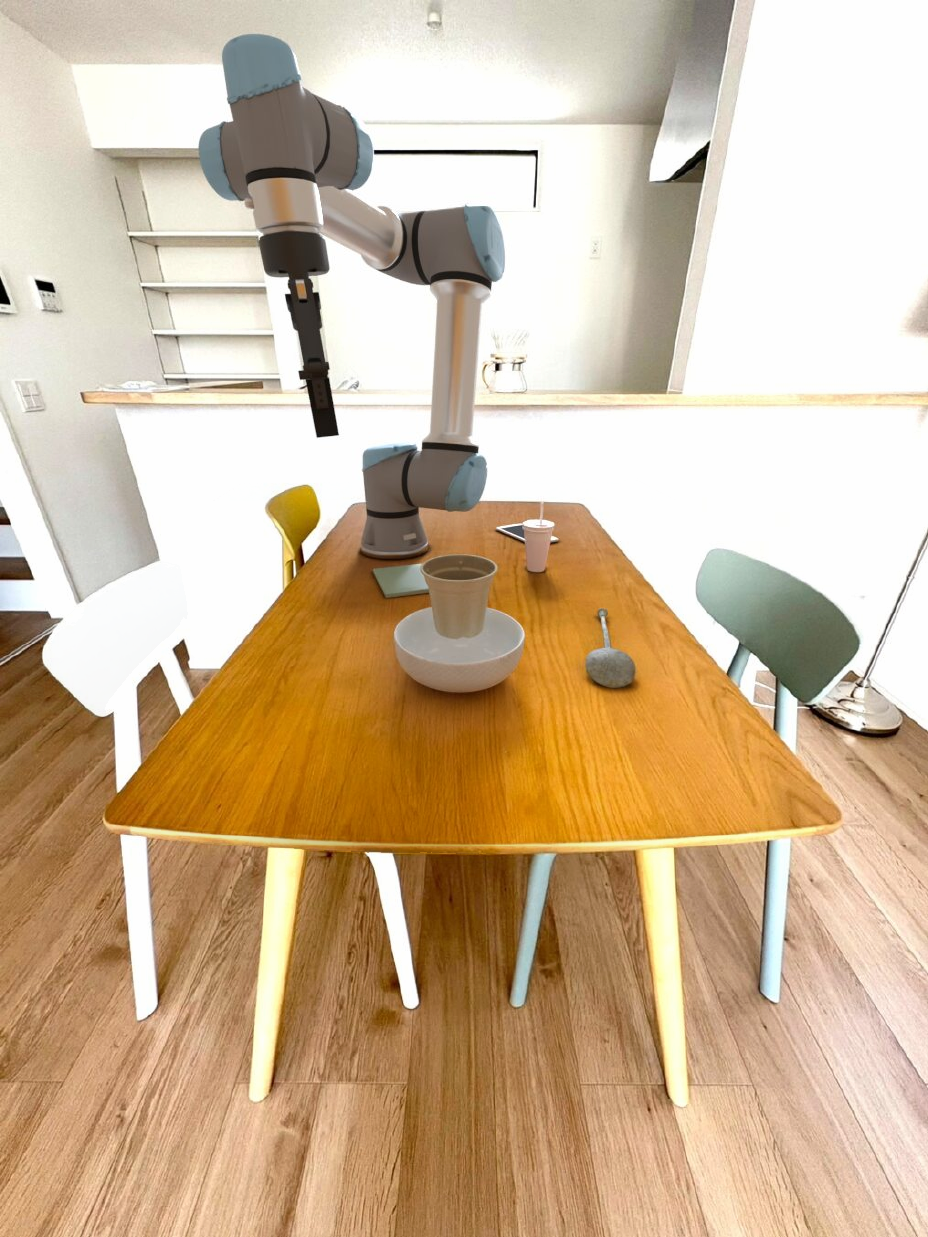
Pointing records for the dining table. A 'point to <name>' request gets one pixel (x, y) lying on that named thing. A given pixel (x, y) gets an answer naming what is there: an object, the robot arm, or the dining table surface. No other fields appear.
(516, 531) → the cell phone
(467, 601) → the flower pot
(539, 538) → the smoothie
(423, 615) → the cereal bowl
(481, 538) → the dining table surface
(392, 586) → the pale green notebook
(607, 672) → the soupspoon
